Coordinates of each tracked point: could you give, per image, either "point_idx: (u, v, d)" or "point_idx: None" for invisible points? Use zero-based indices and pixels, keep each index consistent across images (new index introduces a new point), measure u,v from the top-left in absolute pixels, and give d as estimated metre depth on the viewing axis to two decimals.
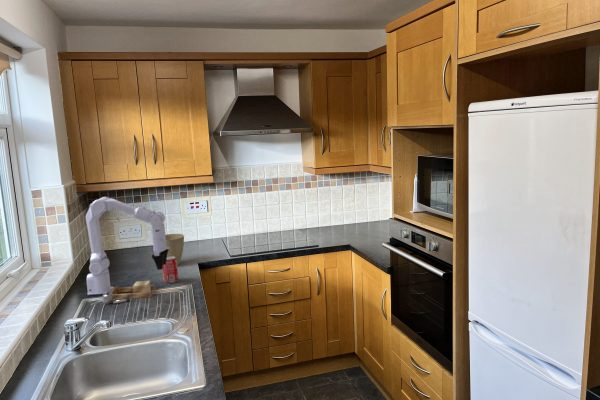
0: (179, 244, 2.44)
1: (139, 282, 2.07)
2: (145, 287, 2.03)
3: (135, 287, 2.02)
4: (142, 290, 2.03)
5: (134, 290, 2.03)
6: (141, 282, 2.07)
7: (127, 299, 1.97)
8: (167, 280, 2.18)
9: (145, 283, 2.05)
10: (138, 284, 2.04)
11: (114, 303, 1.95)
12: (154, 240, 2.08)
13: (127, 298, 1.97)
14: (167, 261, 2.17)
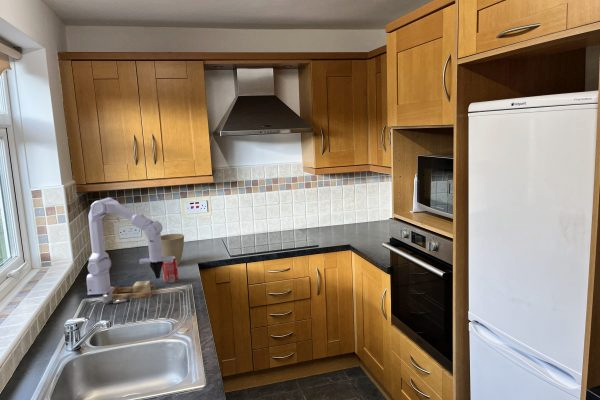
0: (179, 244, 2.44)
1: (139, 282, 2.07)
2: (145, 287, 2.03)
3: (135, 287, 2.02)
4: (142, 290, 2.03)
5: (134, 290, 2.03)
6: (141, 282, 2.07)
7: (127, 299, 1.97)
8: (167, 280, 2.18)
9: (145, 283, 2.05)
10: (138, 284, 2.04)
11: (114, 303, 1.95)
12: None
13: (127, 298, 1.97)
14: None
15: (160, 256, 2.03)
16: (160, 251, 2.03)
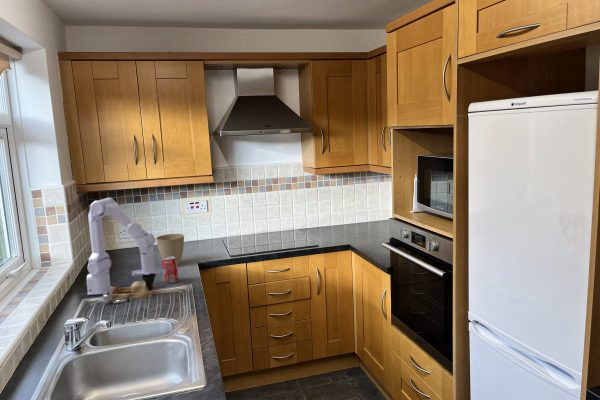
0: (179, 244, 2.44)
1: (137, 282, 2.07)
2: (143, 287, 2.03)
3: (133, 287, 2.02)
4: (140, 290, 2.03)
5: (132, 290, 2.03)
6: (139, 282, 2.07)
7: (127, 299, 1.97)
8: (167, 280, 2.18)
9: (143, 283, 2.05)
10: (136, 284, 2.04)
11: (114, 303, 1.95)
12: None
13: (127, 298, 1.97)
14: (167, 261, 2.17)
15: (152, 268, 2.03)
16: (152, 263, 2.03)
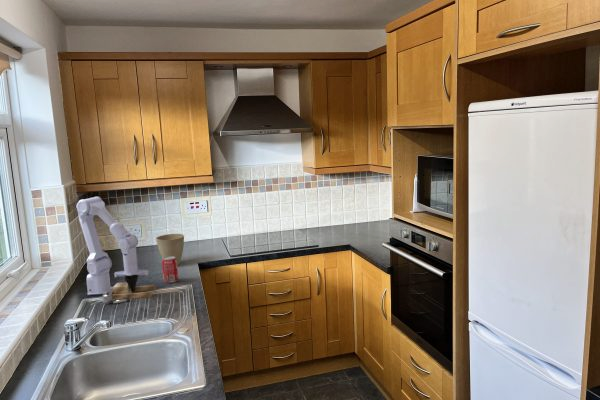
0: (179, 244, 2.44)
1: (120, 283, 2.06)
2: (125, 288, 2.02)
3: (115, 288, 2.02)
4: (122, 291, 2.02)
5: (114, 291, 2.02)
6: (122, 283, 2.06)
7: (127, 299, 1.97)
8: (167, 280, 2.18)
9: (125, 284, 2.04)
10: (118, 285, 2.03)
11: (114, 303, 1.95)
12: None
13: (127, 298, 1.97)
14: (167, 261, 2.17)
15: (135, 269, 2.03)
16: (135, 264, 2.03)
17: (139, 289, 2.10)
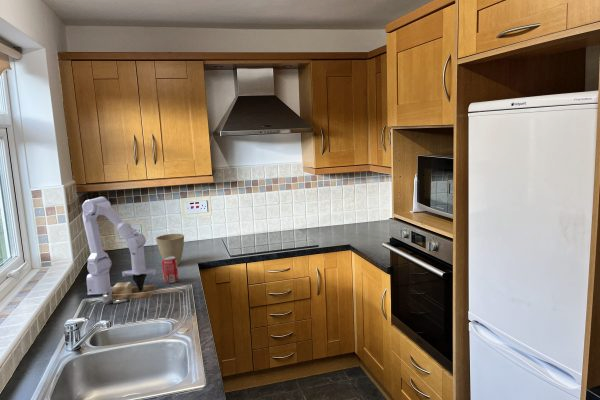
0: (179, 244, 2.44)
1: (120, 283, 2.06)
2: (125, 288, 2.02)
3: (115, 288, 2.02)
4: (122, 291, 2.02)
5: (114, 291, 2.02)
6: (122, 283, 2.06)
7: (127, 299, 1.97)
8: (167, 280, 2.18)
9: (125, 284, 2.04)
10: (118, 285, 2.03)
11: (114, 303, 1.95)
12: None
13: (127, 298, 1.97)
14: (167, 261, 2.17)
15: (143, 269, 2.03)
16: (143, 264, 2.03)
17: None
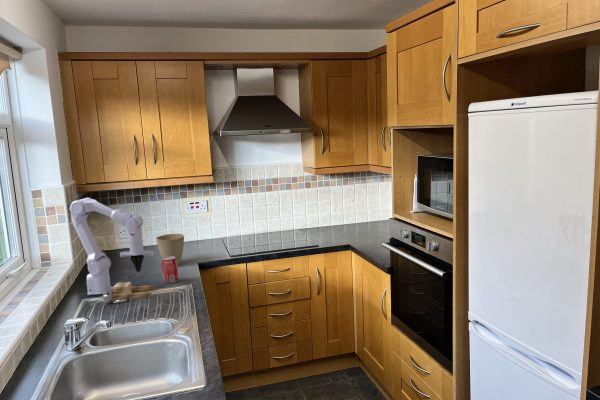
0: (179, 244, 2.44)
1: (120, 283, 2.06)
2: (125, 288, 2.02)
3: (115, 288, 2.02)
4: (122, 291, 2.02)
5: (114, 291, 2.02)
6: (122, 283, 2.06)
7: (127, 299, 1.97)
8: (167, 280, 2.18)
9: (125, 284, 2.04)
10: (118, 285, 2.03)
11: (114, 303, 1.95)
12: None
13: (127, 298, 1.97)
14: (167, 261, 2.17)
15: (140, 249, 2.05)
16: (140, 245, 2.04)
17: (139, 289, 2.10)
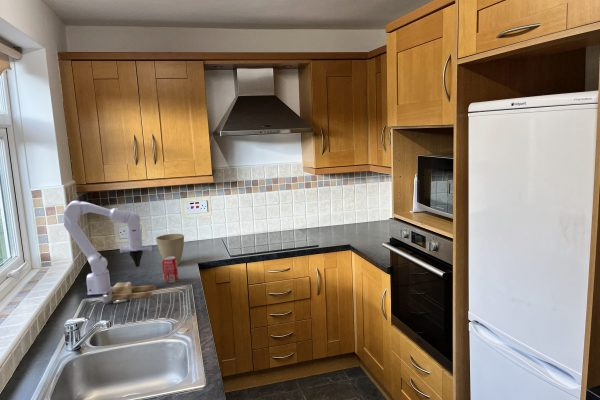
0: (179, 244, 2.44)
1: (120, 283, 2.06)
2: (125, 288, 2.02)
3: (115, 288, 2.02)
4: (122, 291, 2.02)
5: (114, 291, 2.02)
6: (122, 283, 2.06)
7: (127, 299, 1.97)
8: (167, 280, 2.18)
9: (125, 284, 2.04)
10: (118, 285, 2.03)
11: (114, 303, 1.95)
12: None
13: (127, 298, 1.97)
14: (167, 261, 2.17)
15: (139, 245, 2.12)
16: (139, 240, 2.12)
17: (139, 289, 2.10)
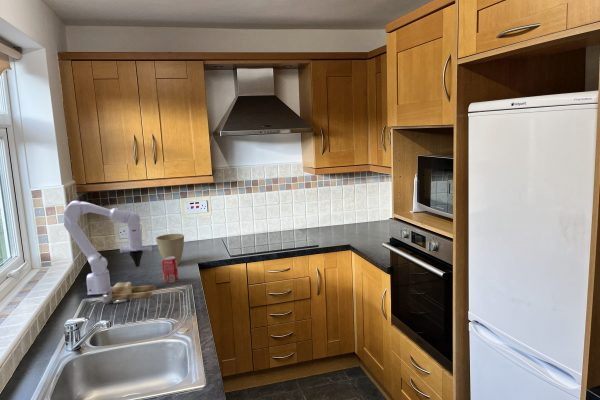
0: (179, 244, 2.44)
1: (120, 283, 2.06)
2: (125, 288, 2.02)
3: (115, 288, 2.02)
4: (122, 291, 2.02)
5: (114, 291, 2.02)
6: (122, 283, 2.06)
7: (127, 299, 1.97)
8: (167, 280, 2.18)
9: (125, 284, 2.04)
10: (118, 285, 2.03)
11: (114, 303, 1.95)
12: None
13: (127, 298, 1.97)
14: (167, 261, 2.17)
15: (139, 245, 2.12)
16: (139, 240, 2.12)
17: (139, 289, 2.10)
